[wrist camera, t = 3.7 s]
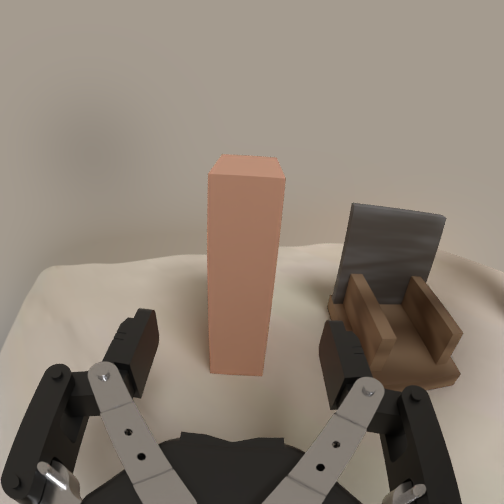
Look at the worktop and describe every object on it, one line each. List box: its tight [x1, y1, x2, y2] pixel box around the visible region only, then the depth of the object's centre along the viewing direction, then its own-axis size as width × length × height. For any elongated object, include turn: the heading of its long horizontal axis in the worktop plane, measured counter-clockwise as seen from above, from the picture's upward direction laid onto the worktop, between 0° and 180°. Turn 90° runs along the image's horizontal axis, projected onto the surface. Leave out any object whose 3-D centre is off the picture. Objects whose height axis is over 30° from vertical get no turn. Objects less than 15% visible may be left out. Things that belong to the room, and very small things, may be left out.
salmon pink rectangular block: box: [207, 154, 286, 376], centre depth 22 cm, size 7×4×15 cm, turn 179°
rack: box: [327, 203, 463, 392], centre depth 23 cm, size 12×10×12 cm
